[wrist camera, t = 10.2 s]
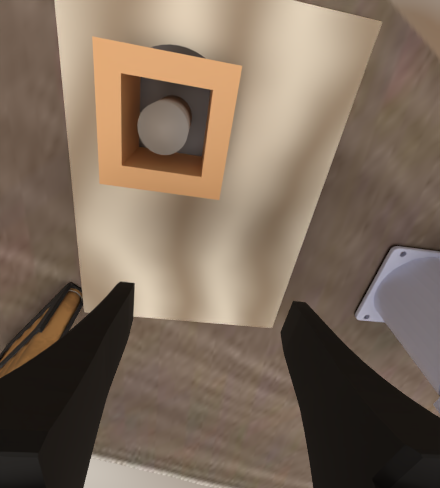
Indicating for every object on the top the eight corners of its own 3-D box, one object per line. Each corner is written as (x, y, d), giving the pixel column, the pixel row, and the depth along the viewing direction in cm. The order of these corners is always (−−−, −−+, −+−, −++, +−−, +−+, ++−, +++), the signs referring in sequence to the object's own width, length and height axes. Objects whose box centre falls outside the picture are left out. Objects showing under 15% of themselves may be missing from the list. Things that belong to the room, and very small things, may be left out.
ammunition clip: (70, 281, 24) (-34, 440, 13) (89, 293, 24) (5, 453, 14) (6, 345, 27) (-116, 512, 17) (25, 353, 28) (-81, 519, 17)
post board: (367, 26, 16) (469, -6, 10) (268, 315, 27) (287, 385, 21) (63, -46, 14) (-47, -142, 8) (90, 299, 25) (53, 372, 19)
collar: (233, 68, 14) (242, 65, 11) (216, 175, 17) (219, 200, 14) (120, 46, 14) (92, 36, 10) (121, 161, 17) (99, 183, 13)
